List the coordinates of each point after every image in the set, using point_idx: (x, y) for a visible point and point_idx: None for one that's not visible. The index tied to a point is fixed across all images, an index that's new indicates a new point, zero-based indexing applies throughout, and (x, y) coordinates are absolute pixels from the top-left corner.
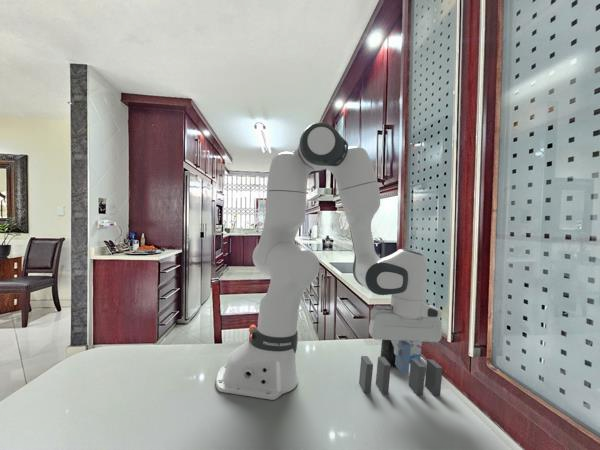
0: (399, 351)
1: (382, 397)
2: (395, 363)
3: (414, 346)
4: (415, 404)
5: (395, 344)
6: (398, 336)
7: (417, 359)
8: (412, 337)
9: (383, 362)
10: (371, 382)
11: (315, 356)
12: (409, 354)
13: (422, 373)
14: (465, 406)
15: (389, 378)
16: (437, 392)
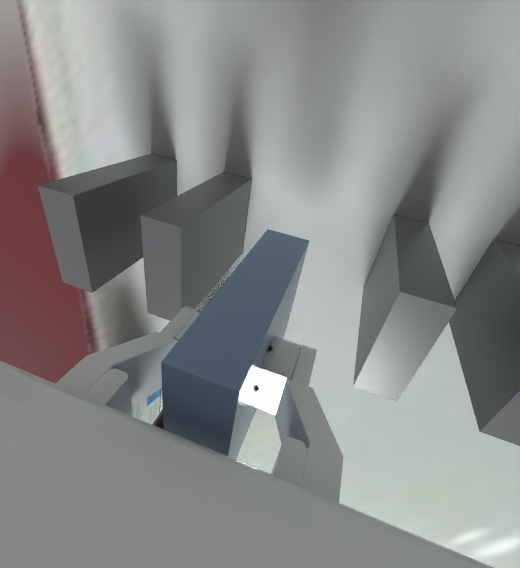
0: (284, 364)
1: (451, 194)
2: (284, 331)
3: (123, 352)
4: (307, 107)
5: (322, 440)
6: (291, 560)
7: (148, 304)
8: (73, 451)
9: (426, 338)
10: (514, 266)
11: (516, 508)
12: (219, 300)
13: (180, 206)
14: (76, 61)
15: (397, 247)
16: (152, 159)
